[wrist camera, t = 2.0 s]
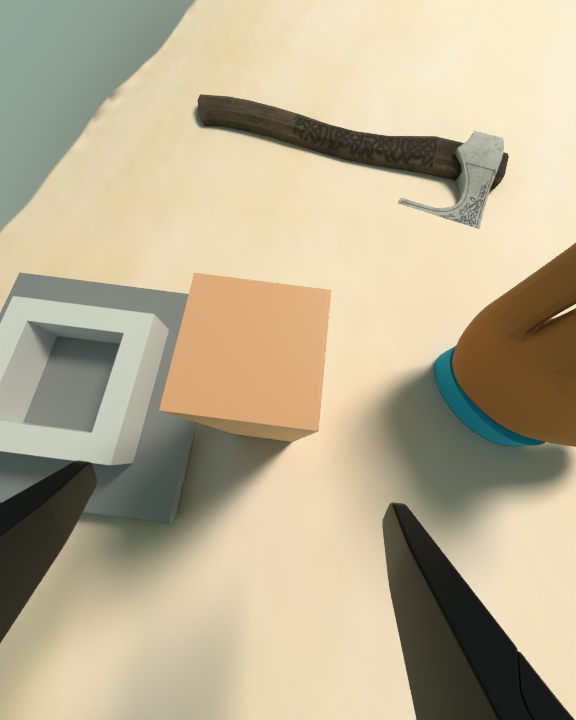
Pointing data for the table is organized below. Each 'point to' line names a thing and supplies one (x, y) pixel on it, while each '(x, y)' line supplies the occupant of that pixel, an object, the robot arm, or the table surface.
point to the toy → (519, 362)
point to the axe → (377, 150)
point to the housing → (92, 392)
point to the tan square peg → (250, 358)
